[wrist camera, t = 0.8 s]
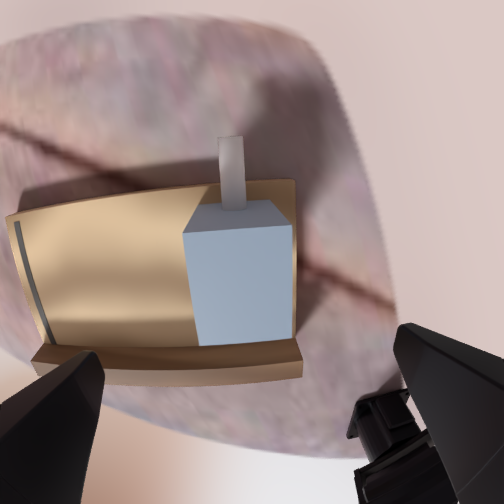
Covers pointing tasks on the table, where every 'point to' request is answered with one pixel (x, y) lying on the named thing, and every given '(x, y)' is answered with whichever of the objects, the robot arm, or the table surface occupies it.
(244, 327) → the block
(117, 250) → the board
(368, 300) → the table surface
